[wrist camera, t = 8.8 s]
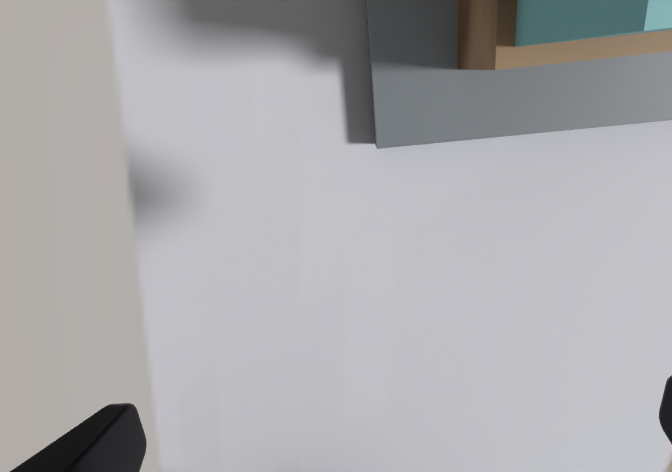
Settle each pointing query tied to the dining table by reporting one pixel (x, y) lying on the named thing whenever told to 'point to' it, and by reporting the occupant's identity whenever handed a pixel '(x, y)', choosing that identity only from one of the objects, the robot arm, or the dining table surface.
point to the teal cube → (588, 19)
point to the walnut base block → (500, 52)
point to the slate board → (494, 84)
